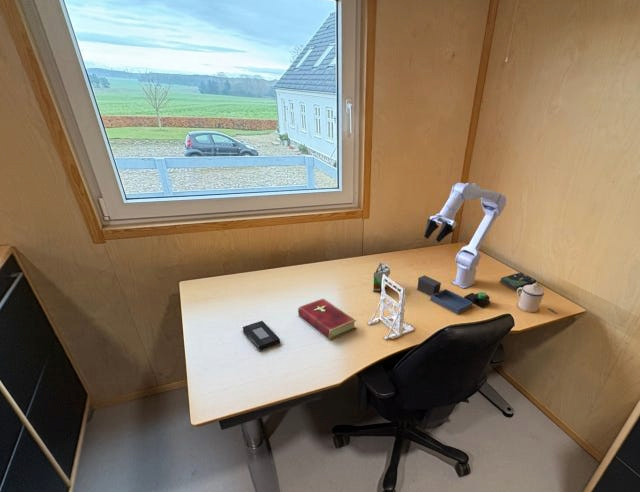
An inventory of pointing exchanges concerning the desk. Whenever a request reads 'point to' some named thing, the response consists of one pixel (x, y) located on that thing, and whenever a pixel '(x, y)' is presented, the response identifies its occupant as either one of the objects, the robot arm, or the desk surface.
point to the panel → (478, 300)
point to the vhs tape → (261, 335)
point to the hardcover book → (327, 318)
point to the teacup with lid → (530, 297)
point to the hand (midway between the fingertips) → (431, 239)
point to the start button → (482, 295)
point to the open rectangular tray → (451, 301)
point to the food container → (380, 276)
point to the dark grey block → (428, 285)
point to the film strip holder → (392, 311)
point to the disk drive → (517, 281)
